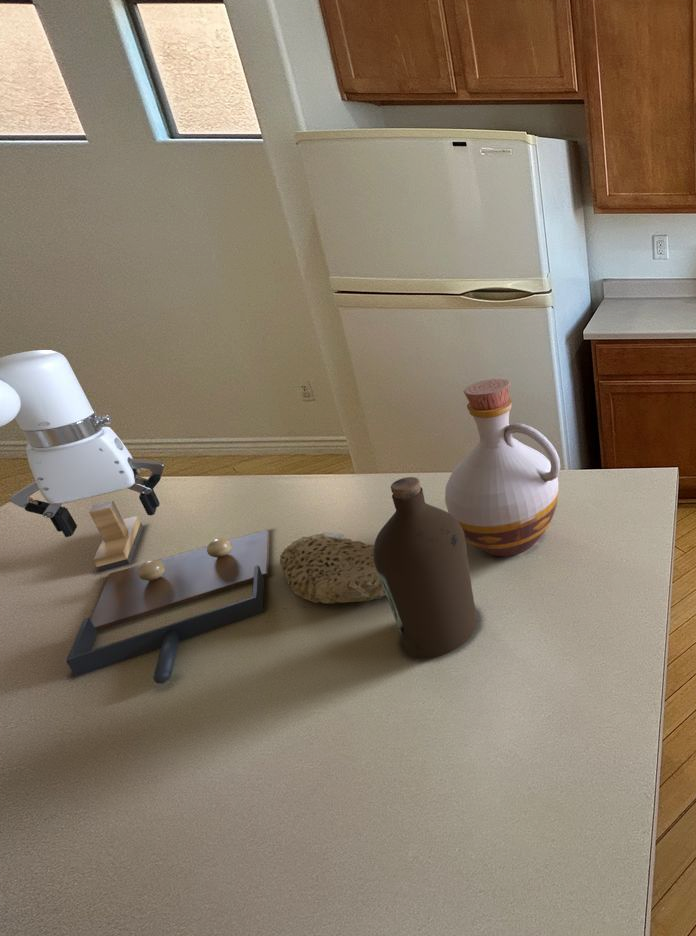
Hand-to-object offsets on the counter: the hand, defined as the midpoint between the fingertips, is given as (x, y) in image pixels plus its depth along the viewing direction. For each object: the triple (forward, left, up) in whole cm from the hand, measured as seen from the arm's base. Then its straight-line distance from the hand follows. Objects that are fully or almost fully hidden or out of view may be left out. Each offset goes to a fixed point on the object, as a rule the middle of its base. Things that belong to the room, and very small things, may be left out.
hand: (113, 521), depth 92 cm
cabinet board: (+10, -16, -6) cm, 19 cm away
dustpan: (+10, -32, -6) cm, 34 cm away
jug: (+55, -36, -6) cm, 66 cm away
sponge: (+30, -31, -6) cm, 43 cm away
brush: (0, 0, -6) cm, 6 cm away
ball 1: (+6, -14, -3) cm, 16 cm away
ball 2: (+14, -13, -3) cm, 19 cm away
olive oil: (+40, -50, -6) cm, 64 cm away
